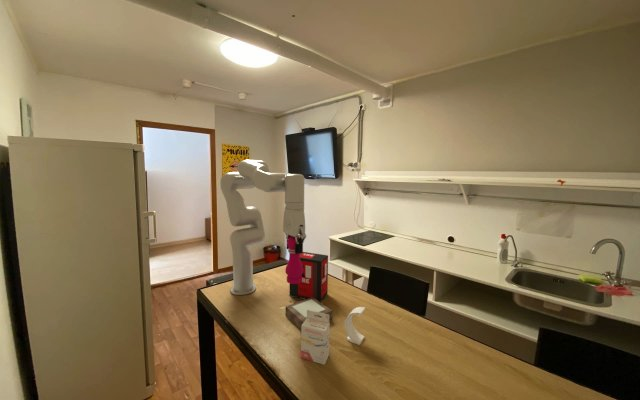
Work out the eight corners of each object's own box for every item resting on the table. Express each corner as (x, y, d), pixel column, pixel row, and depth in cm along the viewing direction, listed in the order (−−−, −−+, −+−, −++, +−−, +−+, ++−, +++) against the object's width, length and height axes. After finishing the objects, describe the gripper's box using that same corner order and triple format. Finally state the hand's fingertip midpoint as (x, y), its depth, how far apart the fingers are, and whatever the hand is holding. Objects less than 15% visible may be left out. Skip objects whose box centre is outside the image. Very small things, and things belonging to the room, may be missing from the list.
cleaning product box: (327, 294, 128) (328, 255, 125) (320, 302, 120) (321, 261, 117) (297, 288, 134) (297, 251, 132) (289, 295, 126) (289, 256, 123)
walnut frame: (285, 315, 109) (285, 305, 108) (312, 305, 117) (312, 296, 117) (303, 332, 98) (303, 321, 97) (332, 319, 106) (332, 309, 106)
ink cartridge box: (300, 358, 84) (300, 316, 82) (306, 348, 89) (306, 308, 87) (325, 365, 81) (325, 322, 80) (329, 355, 86) (330, 313, 84)
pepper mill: (300, 285, 99) (300, 235, 97) (282, 283, 101) (282, 233, 98) (305, 278, 106) (305, 230, 104) (289, 276, 108) (288, 229, 105)
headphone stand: (359, 345, 91) (360, 313, 89) (344, 339, 94) (344, 308, 93) (364, 338, 95) (365, 307, 93) (349, 332, 98) (350, 302, 96)
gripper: (275, 204, 105) (276, 246, 107) (297, 209, 91) (297, 258, 93) (292, 202, 109) (292, 244, 111) (315, 208, 95) (314, 255, 97)
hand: (294, 250), depth 102 cm, fingers closed on pepper mill, 6 cm apart
